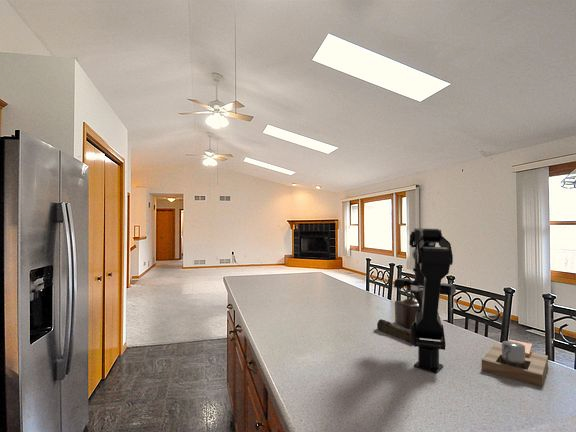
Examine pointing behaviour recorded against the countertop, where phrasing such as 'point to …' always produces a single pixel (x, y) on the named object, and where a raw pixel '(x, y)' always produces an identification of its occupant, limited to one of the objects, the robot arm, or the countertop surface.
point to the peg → (513, 354)
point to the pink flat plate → (527, 347)
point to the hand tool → (394, 330)
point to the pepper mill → (406, 310)
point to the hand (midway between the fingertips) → (423, 311)
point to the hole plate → (531, 373)
